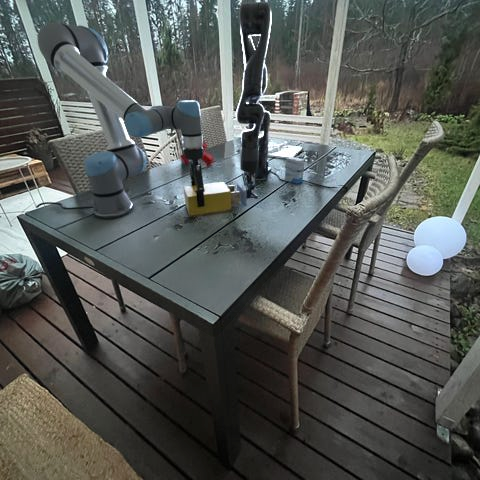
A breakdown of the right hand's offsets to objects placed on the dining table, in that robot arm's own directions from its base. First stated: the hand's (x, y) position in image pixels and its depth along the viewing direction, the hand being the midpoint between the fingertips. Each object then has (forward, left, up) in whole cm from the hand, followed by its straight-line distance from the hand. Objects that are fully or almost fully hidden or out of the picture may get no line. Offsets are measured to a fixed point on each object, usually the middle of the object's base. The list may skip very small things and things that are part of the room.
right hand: (248, 197), depth 120 cm
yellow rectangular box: (+18, +5, -3) cm, 19 cm away
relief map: (-26, -84, -3) cm, 88 cm away
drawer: (+8, +2, -2) cm, 8 cm away
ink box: (-26, -25, -3) cm, 36 cm away
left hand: (+22, +6, +2) cm, 23 cm away
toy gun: (+27, -59, -3) cm, 65 cm away
